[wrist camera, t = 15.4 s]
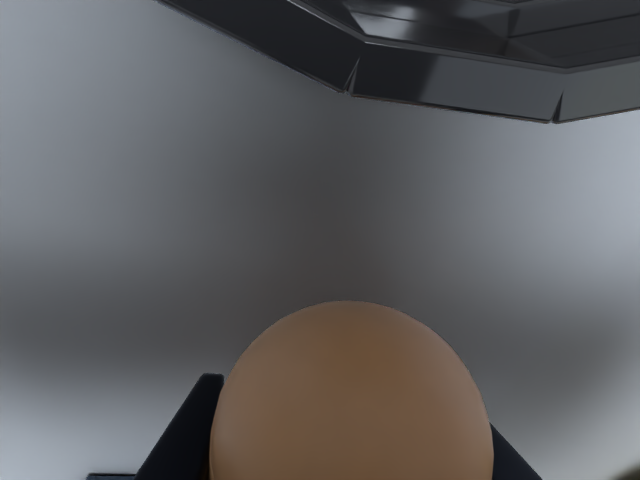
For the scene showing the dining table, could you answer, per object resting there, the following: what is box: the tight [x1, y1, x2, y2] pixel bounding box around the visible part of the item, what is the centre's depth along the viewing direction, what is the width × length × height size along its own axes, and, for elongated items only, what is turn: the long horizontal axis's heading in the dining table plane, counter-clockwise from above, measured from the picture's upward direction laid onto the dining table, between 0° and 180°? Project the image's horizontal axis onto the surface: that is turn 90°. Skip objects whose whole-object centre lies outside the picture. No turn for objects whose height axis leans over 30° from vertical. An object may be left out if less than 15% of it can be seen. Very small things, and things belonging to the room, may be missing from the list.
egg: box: [208, 300, 494, 480], centre depth 8 cm, size 4×6×4 cm
